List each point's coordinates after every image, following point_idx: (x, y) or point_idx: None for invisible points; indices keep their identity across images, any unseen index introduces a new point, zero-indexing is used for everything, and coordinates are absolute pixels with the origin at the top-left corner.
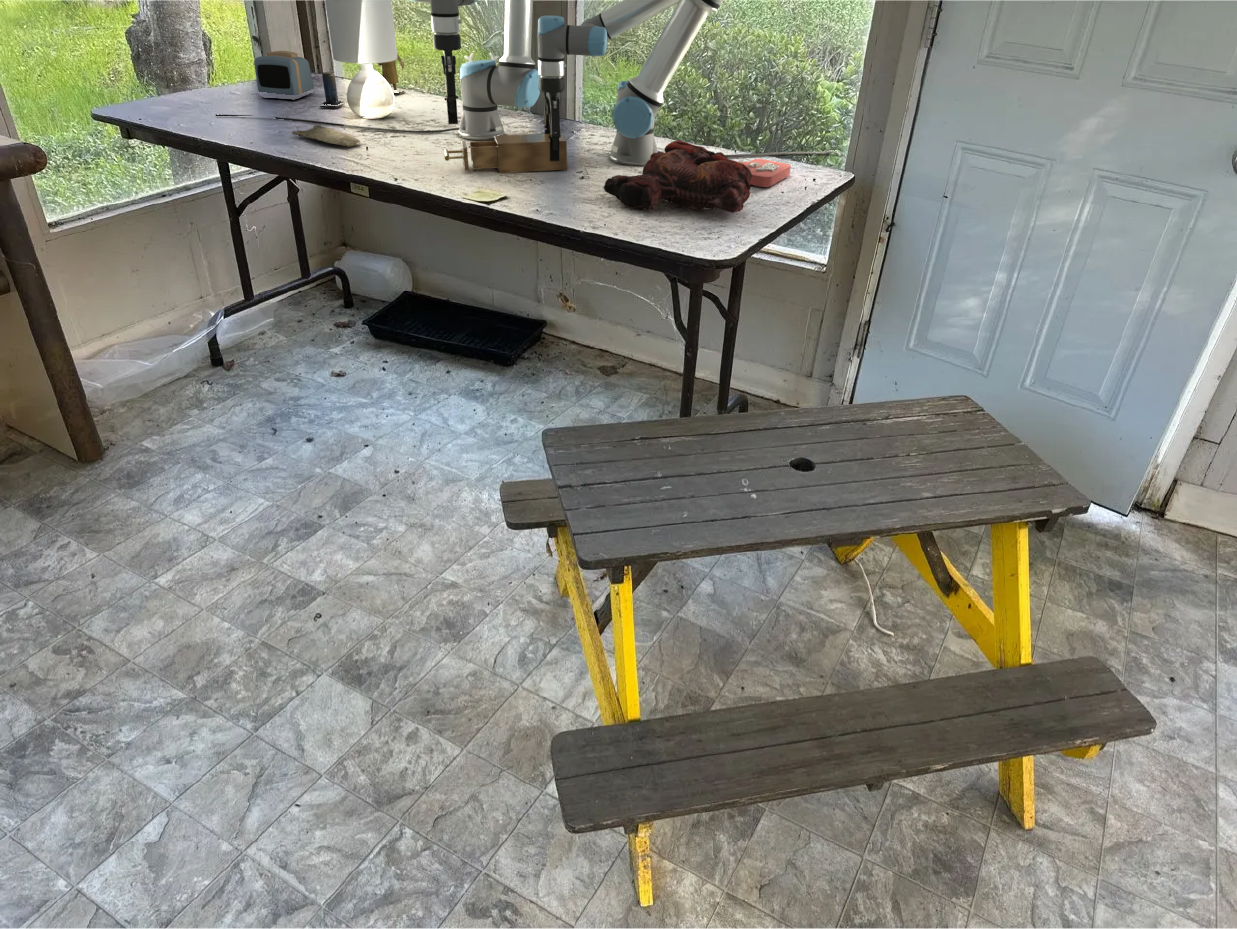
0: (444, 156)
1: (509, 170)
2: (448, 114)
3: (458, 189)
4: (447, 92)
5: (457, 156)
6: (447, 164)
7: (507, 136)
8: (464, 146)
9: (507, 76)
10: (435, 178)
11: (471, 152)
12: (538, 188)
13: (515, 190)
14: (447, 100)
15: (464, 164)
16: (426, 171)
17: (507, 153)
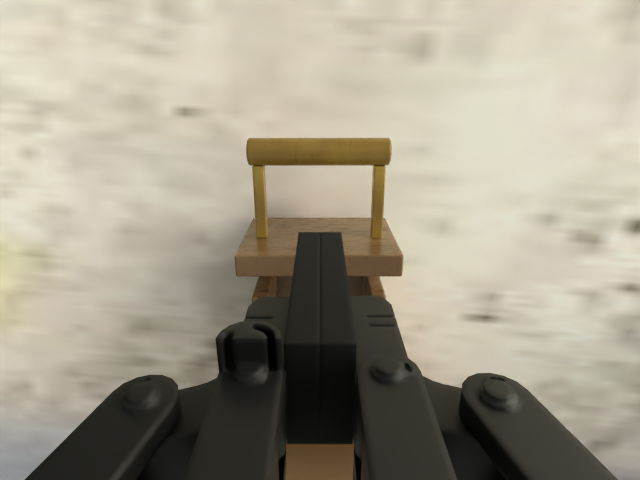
0: (274, 139)
1: None
2: (294, 269)
3: (5, 171)
4: (41, 469)
5: (258, 208)
6: (412, 143)
7: None
8: (269, 265)
9: None
10: (171, 73)
11: (366, 276)
12: (61, 434)
13: (27, 369)
14: (285, 349)
15: (250, 226)
16: (298, 29)
17: None
